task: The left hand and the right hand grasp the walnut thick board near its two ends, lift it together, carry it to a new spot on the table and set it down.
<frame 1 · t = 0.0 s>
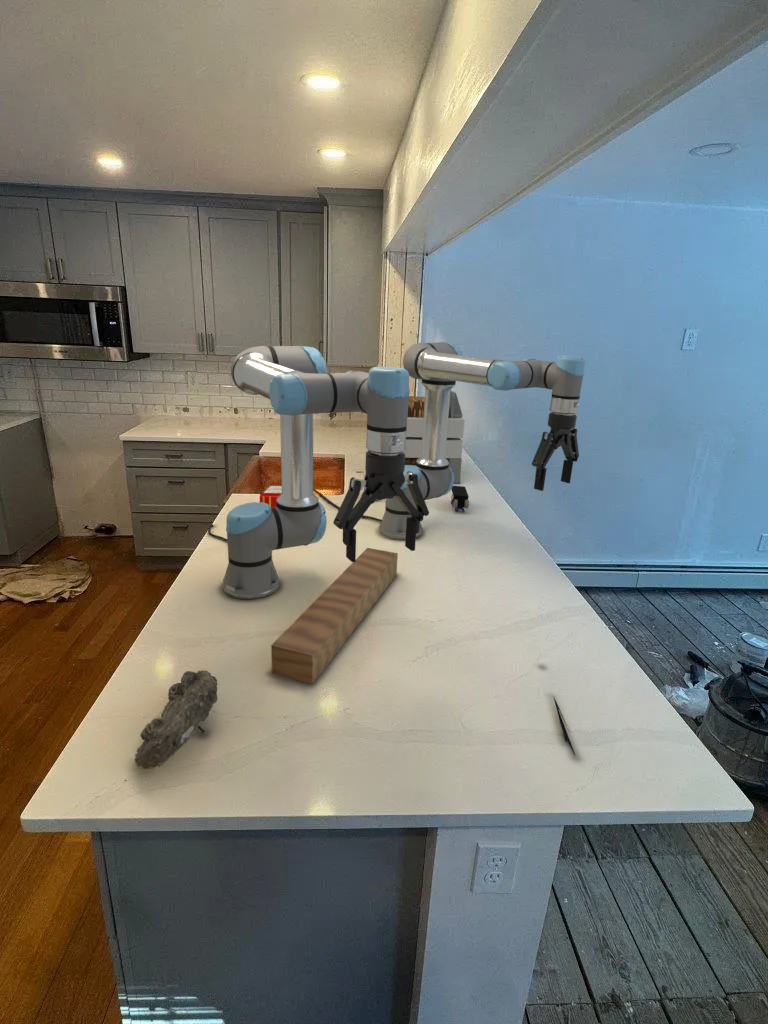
left hand: (381, 553, 115), 28 cm above the counter, tool pointing down, fingers open, 13 cm apart
right hand: (552, 485, 166), 28 cm above the counter, tool pointing down, fingers open, 13 cm apart
thick board: (344, 615, 145), on the counter
fossil: (184, 730, 104), on the counter
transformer: (419, 473, 275), on the counter
figurine: (372, 498, 236), on the counter
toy: (279, 518, 209), on the counter
feather: (556, 707, 115), on the counter
figurine character: (458, 508, 229), on the counter
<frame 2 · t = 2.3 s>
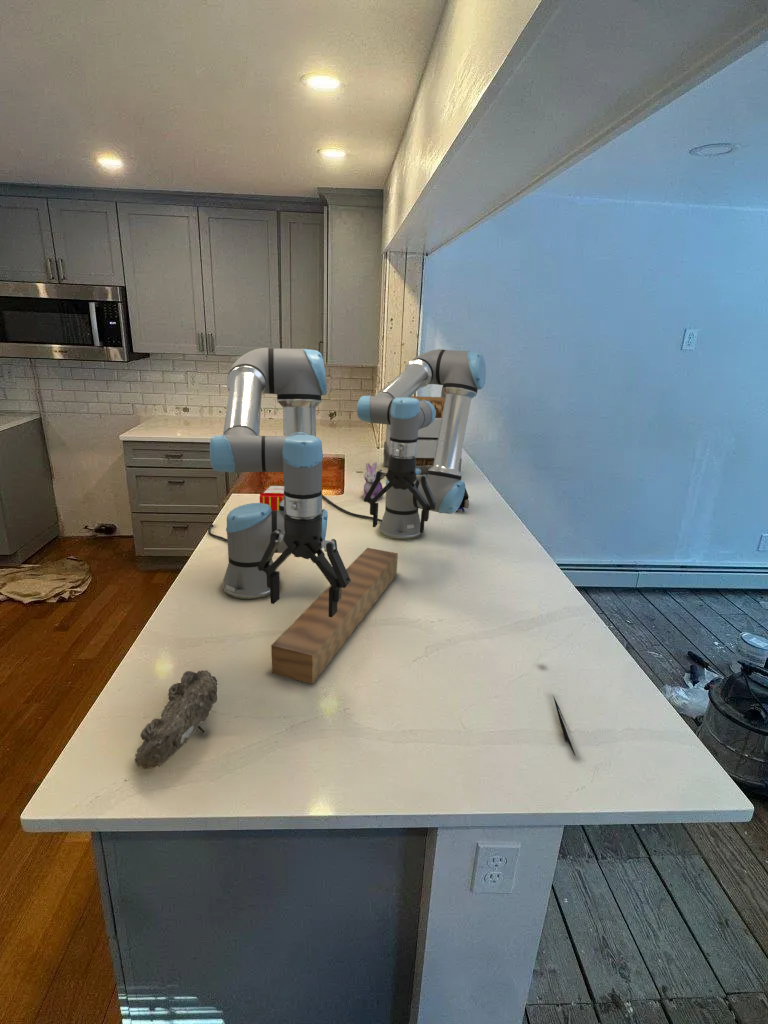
left hand: (303, 607, 120), 14 cm above the counter, tool pointing down, fingers open, 13 cm apart
right hand: (398, 528, 161), 16 cm above the counter, tool pointing down, fingers open, 13 cm apart
nothing on the counter moved.
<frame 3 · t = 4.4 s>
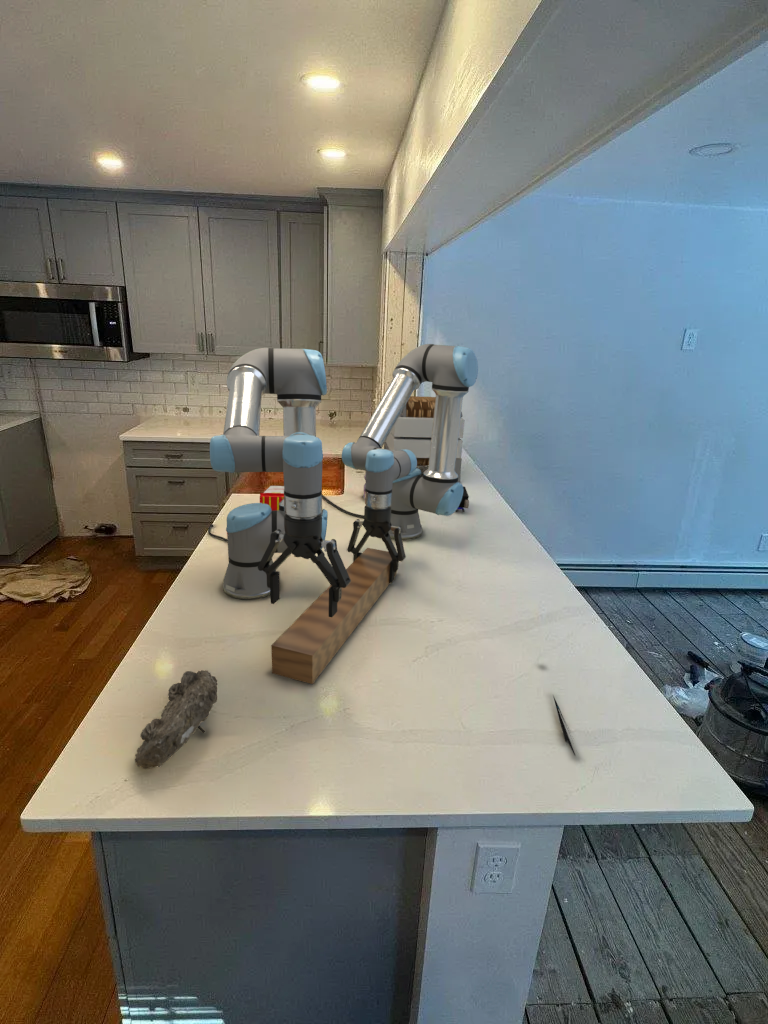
left hand: (303, 607, 120), 14 cm above the counter, tool pointing down, fingers open, 13 cm apart
right hand: (375, 577, 165), 1 cm above the counter, tool pointing down, fingers closed on thick board, 10 cm apart
thick board: (344, 615, 145), on the counter, touching right hand
everything else where it was.
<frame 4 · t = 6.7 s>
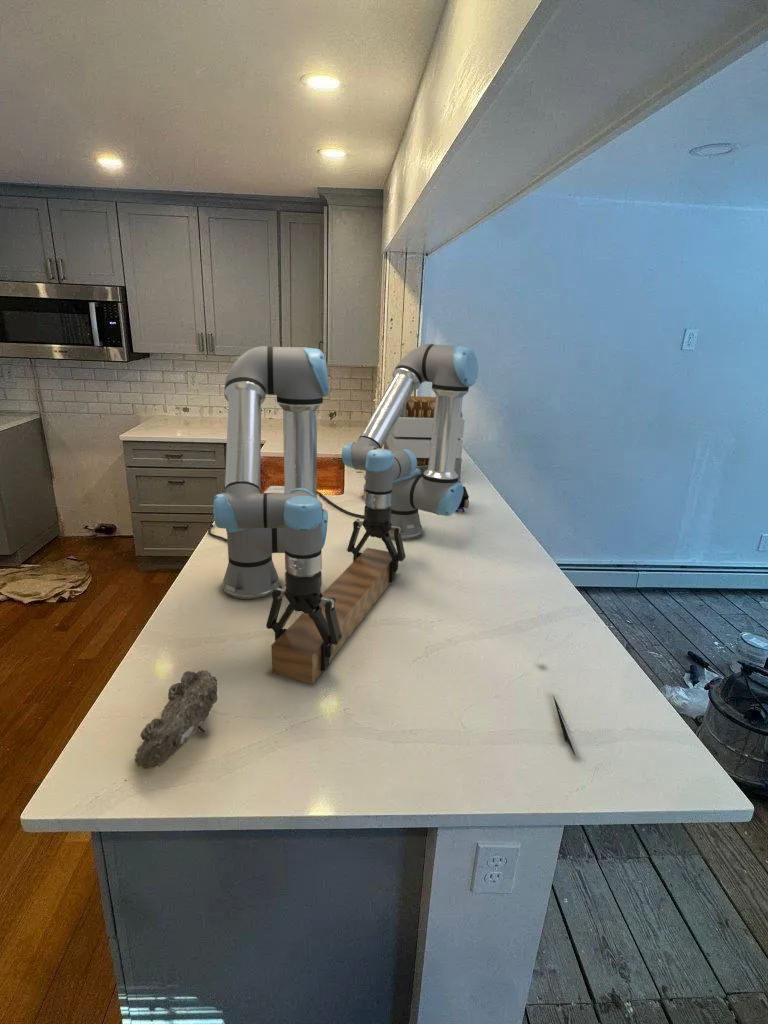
left hand: (303, 662, 125), 1 cm above the counter, tool pointing down, fingers closed on thick board, 10 cm apart
right hand: (375, 577, 165), 1 cm above the counter, tool pointing down, fingers closed on thick board, 10 cm apart
thick board: (344, 615, 145), on the counter, touching right hand, left hand
everything else where it was.
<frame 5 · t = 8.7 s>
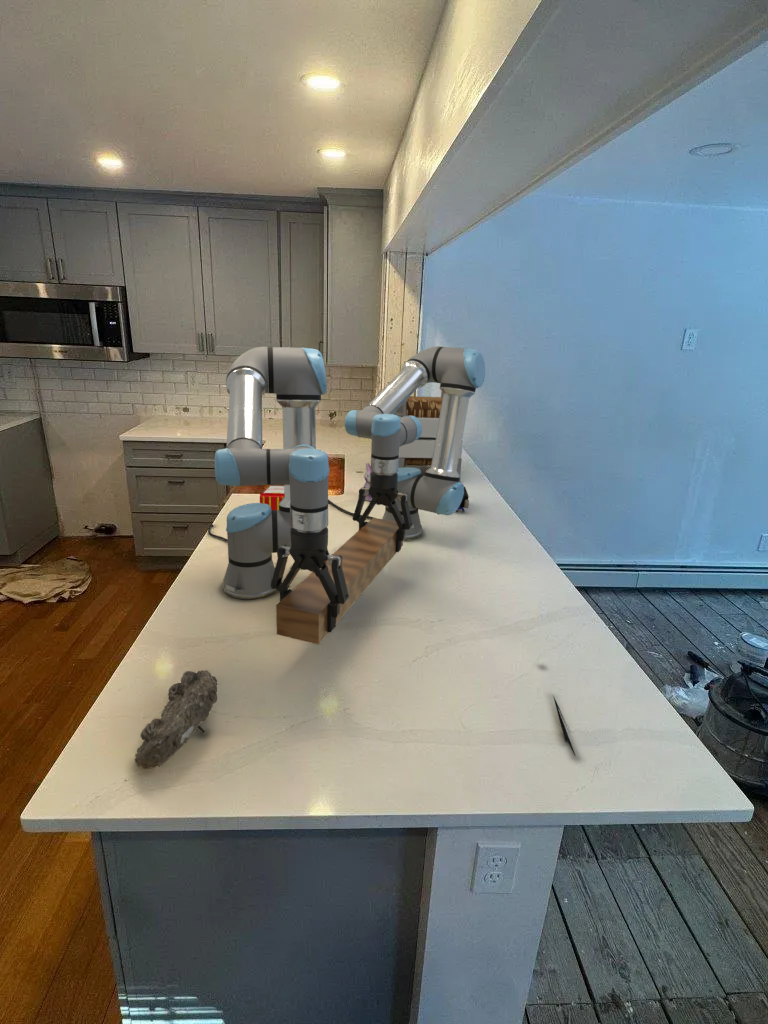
left hand: (309, 623, 121), 11 cm above the counter, tool pointing down, fingers closed on thick board, 10 cm apart
right hand: (381, 547, 162), 10 cm above the counter, tool pointing down, fingers closed on thick board, 10 cm apart
thick board: (350, 582, 142), point 10 cm above the counter, touching right hand, left hand
everything else where it was.
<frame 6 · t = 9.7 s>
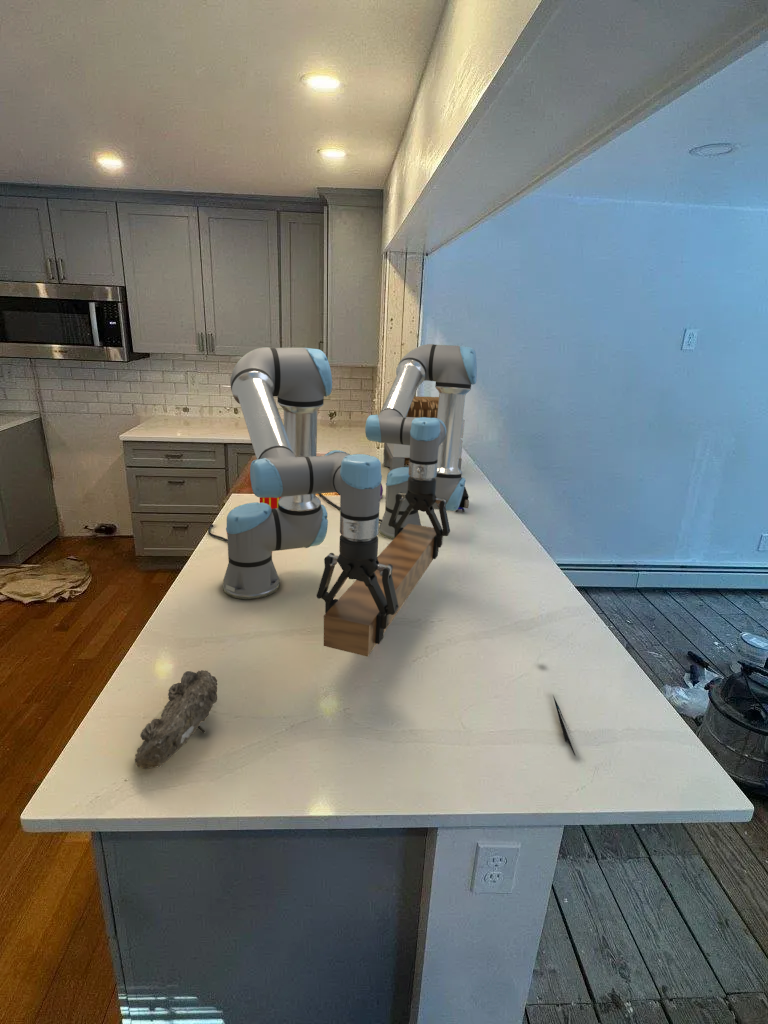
left hand: (356, 634, 117), 11 cm above the counter, tool pointing down, fingers closed on thick board, 10 cm apart
right hand: (417, 553, 158), 11 cm above the counter, tool pointing down, fingers closed on thick board, 10 cm apart
thick board: (390, 590, 138), point 10 cm above the counter, touching right hand, left hand
everything else where it was.
when the left hand's fingers open (2 cm above the counter, at t = 13.0 s): thick board drops 1 cm, on the counter.
when the right hand's fingers open (2 cm above the counter, at t = 13.0 s): thick board drops 1 cm, on the counter.
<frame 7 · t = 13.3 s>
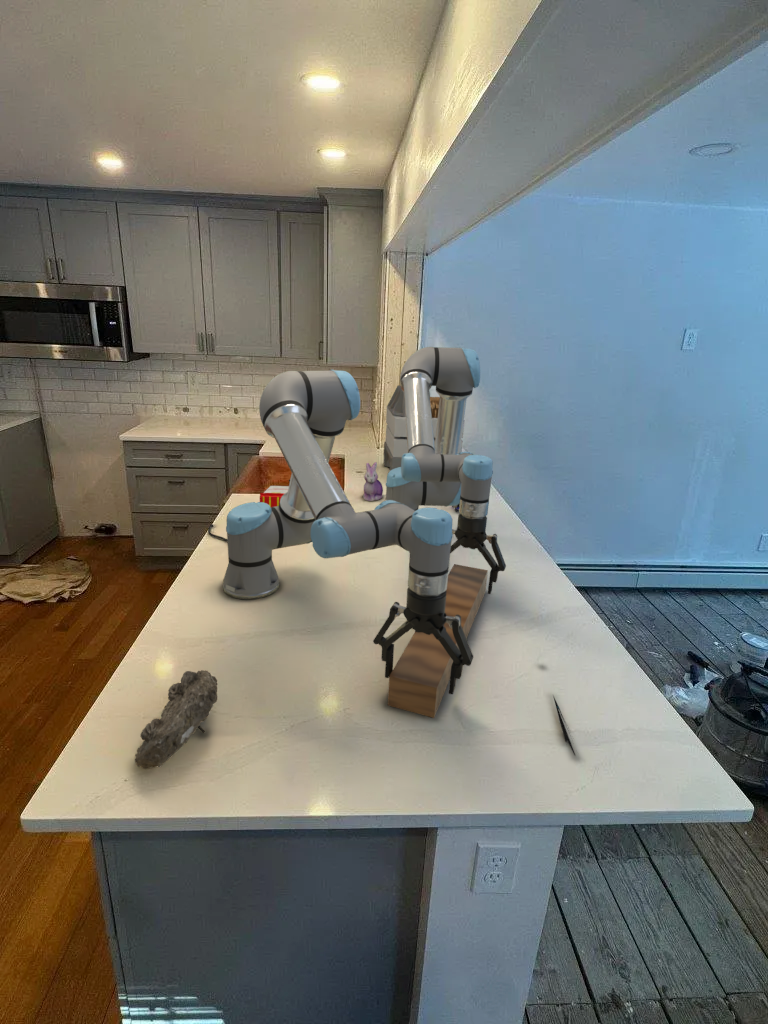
left hand: (419, 682, 116), 3 cm above the counter, tool pointing down, fingers open, 13 cm apart
right hand: (465, 587, 156), 3 cm above the counter, tool pointing down, fingers open, 13 cm apart
thick board: (444, 639, 137), on the counter
everything else where it was.
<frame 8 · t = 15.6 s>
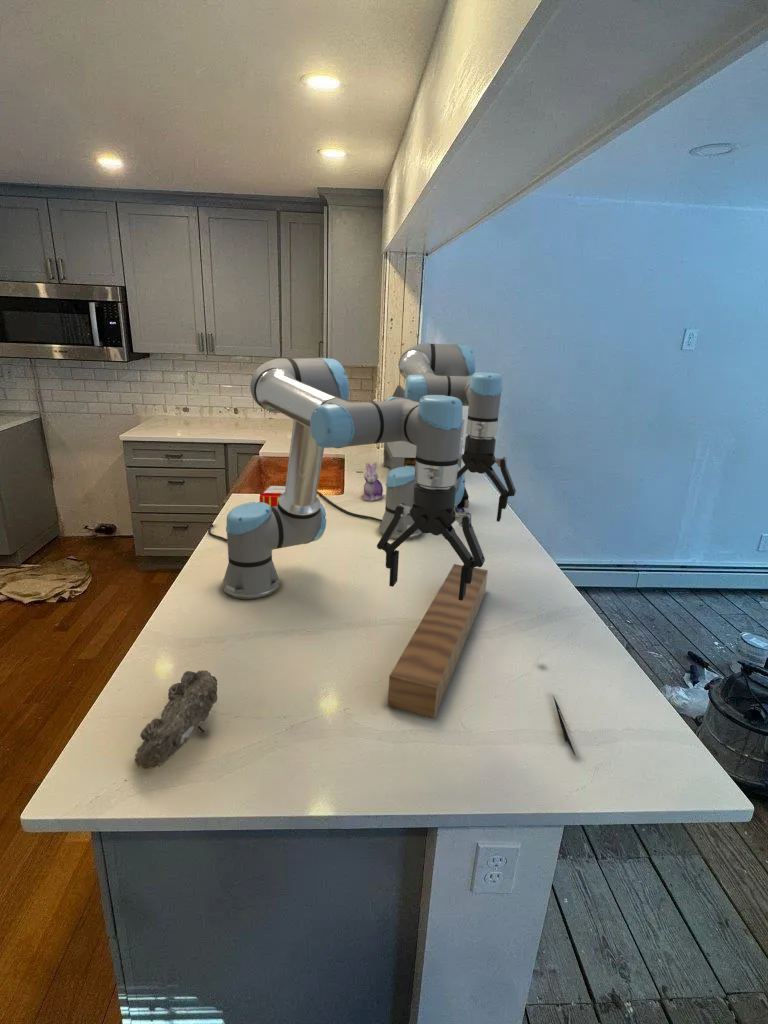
left hand: (426, 590, 108), 24 cm above the counter, tool pointing down, fingers open, 13 cm apart
right hand: (472, 516, 149), 24 cm above the counter, tool pointing down, fingers open, 13 cm apart
nothing on the counter moved.
at the end: thick board inside the target area (0.1 cm from its centre), on the counter; thick board tilted 0°; thick board never tilted more than 1° during the clip; both hands held the thick board at the same time; the left hand is holding nothing; the right hand is holding nothing; thick board at rest at the end (0.0 cm/s) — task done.
